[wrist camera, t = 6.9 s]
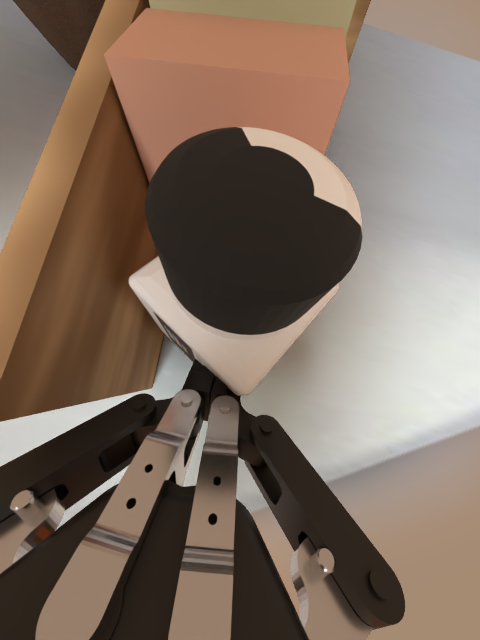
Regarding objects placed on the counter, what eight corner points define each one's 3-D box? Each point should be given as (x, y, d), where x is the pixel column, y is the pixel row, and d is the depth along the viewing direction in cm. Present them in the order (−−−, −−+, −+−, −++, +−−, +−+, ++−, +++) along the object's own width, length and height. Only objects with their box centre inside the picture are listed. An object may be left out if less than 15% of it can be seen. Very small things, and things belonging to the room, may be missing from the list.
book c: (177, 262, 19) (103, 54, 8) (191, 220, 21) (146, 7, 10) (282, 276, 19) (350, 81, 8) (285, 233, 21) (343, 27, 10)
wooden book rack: (133, 385, 18) (-68, 416, 6) (201, 102, 24) (165, -146, 13) (300, 411, 18) (424, 497, 6) (325, 116, 24) (407, -127, 12)
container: (230, 400, 16) (288, 397, 4) (158, 328, 17) (38, 160, 5) (293, 328, 19) (445, 195, 7) (227, 270, 20) (253, 66, 8)
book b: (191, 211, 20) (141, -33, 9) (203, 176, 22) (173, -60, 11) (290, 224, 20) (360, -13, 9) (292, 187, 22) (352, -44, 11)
